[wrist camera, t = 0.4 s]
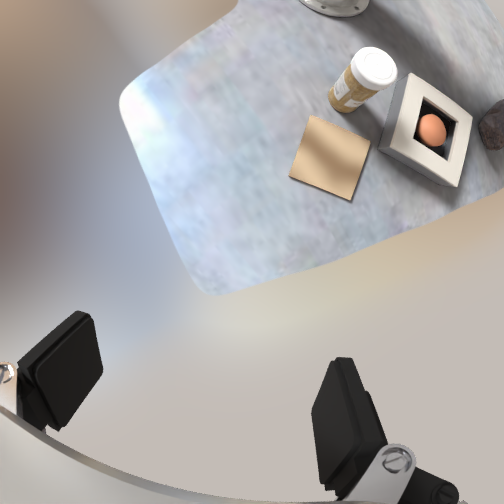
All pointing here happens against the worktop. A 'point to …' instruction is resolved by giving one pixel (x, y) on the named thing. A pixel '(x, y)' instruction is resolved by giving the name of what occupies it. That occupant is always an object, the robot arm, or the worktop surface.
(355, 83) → the sprinkles bottle
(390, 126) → the grey square open box
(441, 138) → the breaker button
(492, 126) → the perforated stone tool
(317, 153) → the coaster
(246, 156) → the worktop surface
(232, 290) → the worktop surface
